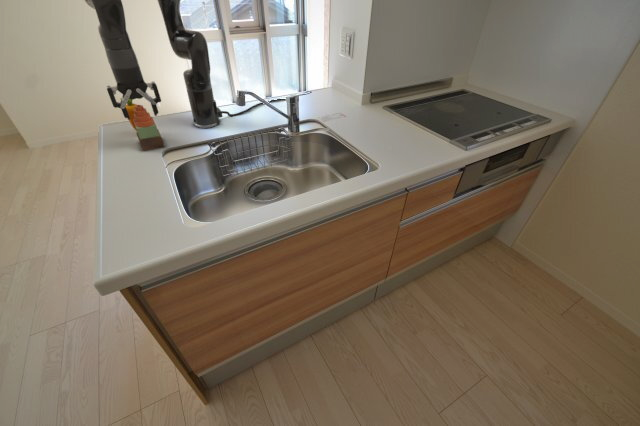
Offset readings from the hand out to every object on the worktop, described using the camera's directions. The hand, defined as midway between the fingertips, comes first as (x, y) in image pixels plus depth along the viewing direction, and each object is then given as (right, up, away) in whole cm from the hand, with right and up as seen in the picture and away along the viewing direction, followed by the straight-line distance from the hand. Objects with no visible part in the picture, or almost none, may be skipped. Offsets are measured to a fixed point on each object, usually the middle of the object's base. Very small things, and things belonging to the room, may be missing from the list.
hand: (142, 116), depth 99 cm
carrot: (-8, -3, +12) cm, 15 cm away
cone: (0, -2, +1) cm, 2 cm away
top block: (0, -5, +4) cm, 6 cm away
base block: (-1, -8, +7) cm, 10 cm away
